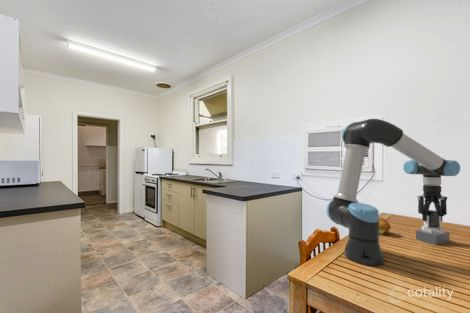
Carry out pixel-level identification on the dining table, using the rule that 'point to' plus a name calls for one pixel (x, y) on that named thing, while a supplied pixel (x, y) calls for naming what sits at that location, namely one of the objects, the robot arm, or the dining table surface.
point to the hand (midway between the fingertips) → (432, 227)
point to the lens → (433, 219)
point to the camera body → (432, 236)
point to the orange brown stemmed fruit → (383, 226)
